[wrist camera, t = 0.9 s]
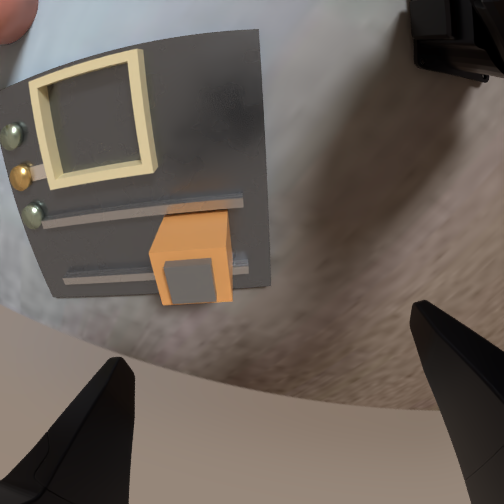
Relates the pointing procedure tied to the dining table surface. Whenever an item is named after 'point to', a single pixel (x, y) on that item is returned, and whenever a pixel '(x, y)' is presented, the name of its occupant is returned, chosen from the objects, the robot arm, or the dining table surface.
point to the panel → (127, 149)
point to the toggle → (193, 258)
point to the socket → (140, 114)
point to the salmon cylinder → (16, 18)
